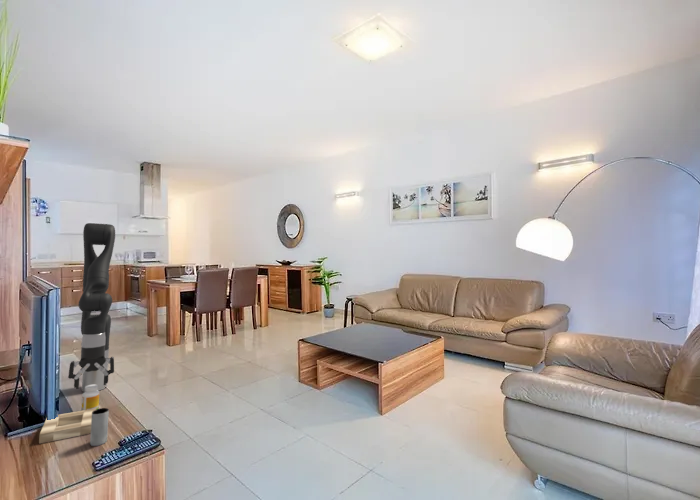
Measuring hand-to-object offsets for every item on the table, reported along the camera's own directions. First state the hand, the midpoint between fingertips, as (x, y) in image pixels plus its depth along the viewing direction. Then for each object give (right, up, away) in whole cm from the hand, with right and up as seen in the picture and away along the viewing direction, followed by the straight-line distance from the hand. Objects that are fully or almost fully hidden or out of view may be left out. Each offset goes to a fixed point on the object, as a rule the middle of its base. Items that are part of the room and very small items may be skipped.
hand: (91, 386), depth 135 cm
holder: (+2, -10, -13) cm, 17 cm away
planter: (+18, -10, -21) cm, 30 cm away
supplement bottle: (-1, -10, 0) cm, 10 cm away
